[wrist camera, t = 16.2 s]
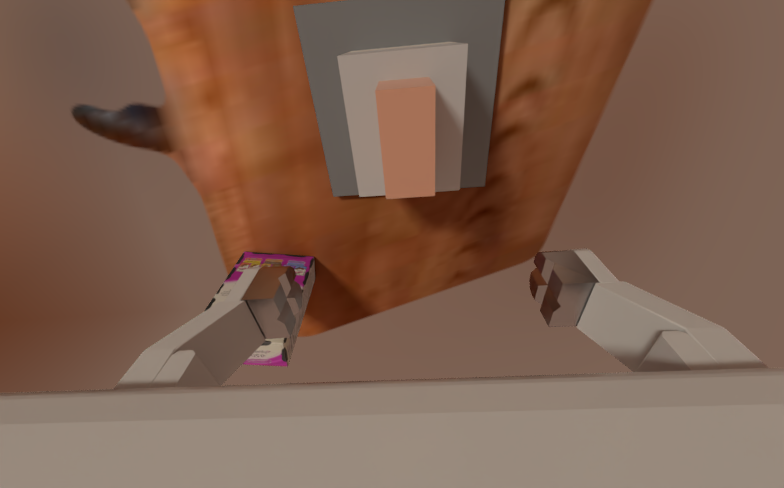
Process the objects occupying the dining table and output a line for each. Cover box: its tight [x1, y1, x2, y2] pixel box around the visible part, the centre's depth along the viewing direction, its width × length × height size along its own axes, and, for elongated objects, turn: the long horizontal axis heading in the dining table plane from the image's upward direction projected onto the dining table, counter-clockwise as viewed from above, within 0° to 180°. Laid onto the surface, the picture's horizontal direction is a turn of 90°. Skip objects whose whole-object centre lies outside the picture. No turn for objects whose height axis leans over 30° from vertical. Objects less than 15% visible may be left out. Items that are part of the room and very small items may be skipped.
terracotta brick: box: [375, 77, 436, 199], centre depth 24 cm, size 4×8×5 cm, turn 5°
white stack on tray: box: [293, 0, 505, 197], centre depth 30 cm, size 20×20×10 cm
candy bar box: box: [205, 252, 315, 367], centre depth 41 cm, size 11×5×16 cm, turn 85°
